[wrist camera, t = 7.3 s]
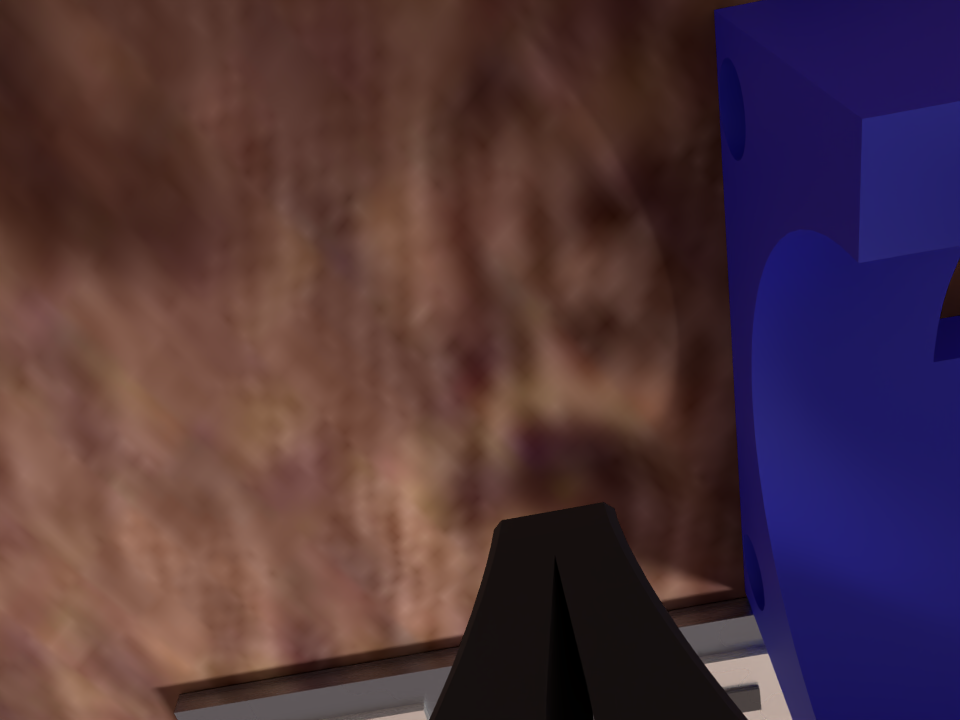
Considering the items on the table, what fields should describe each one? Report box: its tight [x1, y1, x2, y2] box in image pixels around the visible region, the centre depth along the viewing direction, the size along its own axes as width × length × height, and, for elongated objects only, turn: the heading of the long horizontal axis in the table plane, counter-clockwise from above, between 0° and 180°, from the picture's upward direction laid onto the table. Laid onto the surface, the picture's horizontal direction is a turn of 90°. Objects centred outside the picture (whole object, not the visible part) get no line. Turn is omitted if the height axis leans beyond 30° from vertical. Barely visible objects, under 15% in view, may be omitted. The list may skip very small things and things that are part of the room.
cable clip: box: [714, 0, 960, 720], centre depth 14 cm, size 12×4×6 cm, turn 11°
